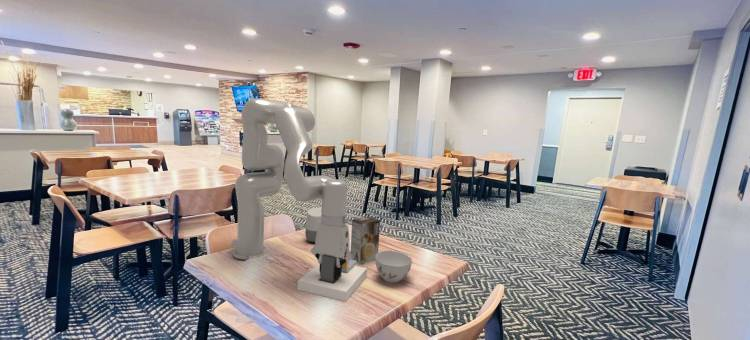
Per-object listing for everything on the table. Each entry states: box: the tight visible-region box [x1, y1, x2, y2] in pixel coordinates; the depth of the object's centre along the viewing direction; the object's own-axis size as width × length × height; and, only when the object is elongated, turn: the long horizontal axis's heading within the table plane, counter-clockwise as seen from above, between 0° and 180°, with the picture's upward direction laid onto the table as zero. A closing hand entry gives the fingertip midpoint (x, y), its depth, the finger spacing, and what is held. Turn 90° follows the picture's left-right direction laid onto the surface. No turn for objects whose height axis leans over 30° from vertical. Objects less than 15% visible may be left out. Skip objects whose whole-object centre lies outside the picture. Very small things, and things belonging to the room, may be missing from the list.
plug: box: [321, 255, 339, 284], centre depth 102 cm, size 4×5×11 cm
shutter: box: [342, 258, 358, 272], centre depth 112 cm, size 7×8×4 cm
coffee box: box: [350, 216, 381, 266], centre depth 125 cm, size 9×6×16 cm
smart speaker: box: [304, 207, 322, 244], centre depth 143 cm, size 10×9×14 cm
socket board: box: [297, 263, 368, 302], centre depth 106 cm, size 16×18×3 cm
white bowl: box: [374, 250, 413, 284], centre depth 112 cm, size 15×12×8 cm
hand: (330, 275), depth 103 cm, fingers open, 4 cm apart
